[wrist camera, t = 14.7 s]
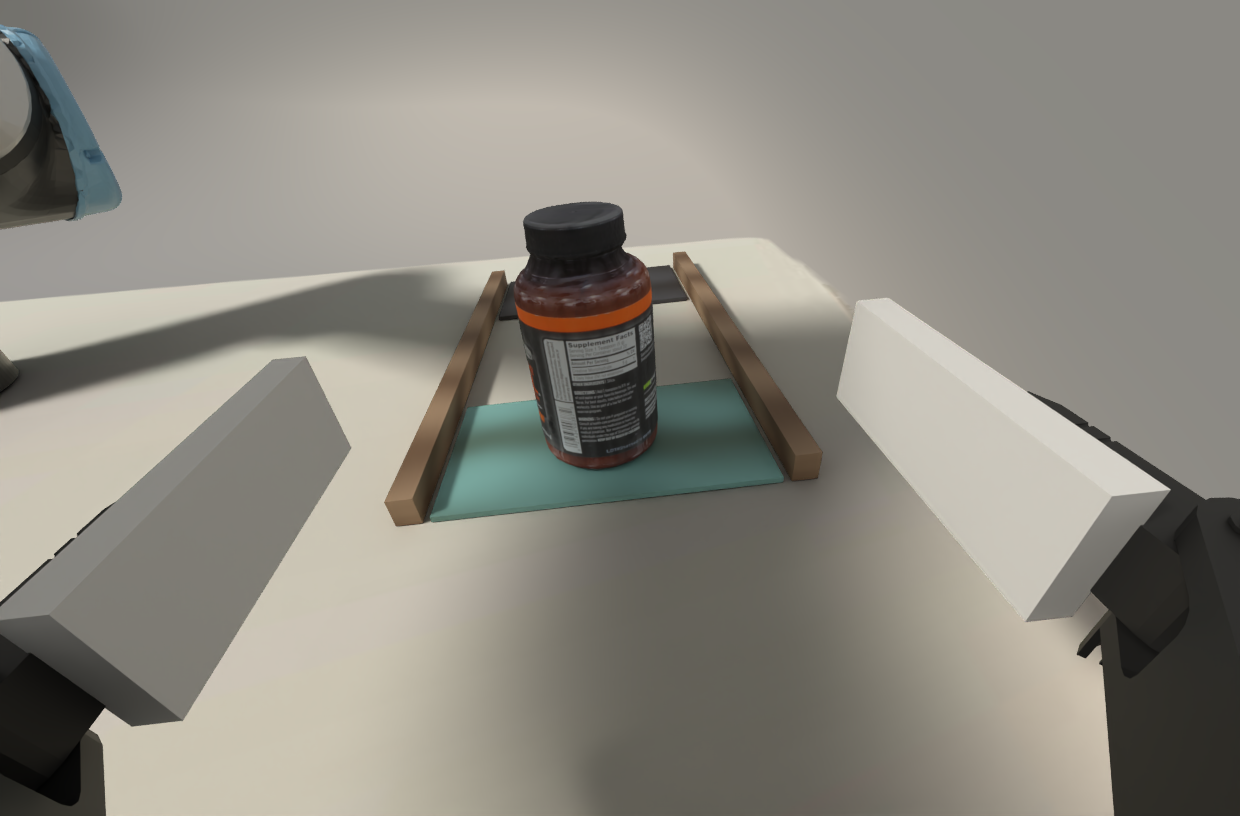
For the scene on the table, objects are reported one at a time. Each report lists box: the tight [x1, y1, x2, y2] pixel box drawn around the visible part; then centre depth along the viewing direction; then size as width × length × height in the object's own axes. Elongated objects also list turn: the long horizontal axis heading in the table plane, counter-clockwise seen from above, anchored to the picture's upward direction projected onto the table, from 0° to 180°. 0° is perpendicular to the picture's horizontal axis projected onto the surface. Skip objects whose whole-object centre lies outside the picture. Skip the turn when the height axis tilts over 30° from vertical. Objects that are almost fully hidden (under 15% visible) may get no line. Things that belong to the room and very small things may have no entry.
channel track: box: [384, 252, 823, 526], centre depth 35 cm, size 32×19×2 cm, turn 4°
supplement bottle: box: [514, 202, 658, 469], centre depth 22 cm, size 6×6×11 cm
